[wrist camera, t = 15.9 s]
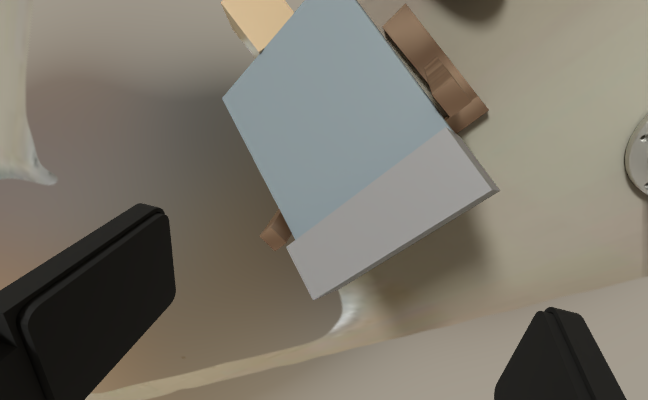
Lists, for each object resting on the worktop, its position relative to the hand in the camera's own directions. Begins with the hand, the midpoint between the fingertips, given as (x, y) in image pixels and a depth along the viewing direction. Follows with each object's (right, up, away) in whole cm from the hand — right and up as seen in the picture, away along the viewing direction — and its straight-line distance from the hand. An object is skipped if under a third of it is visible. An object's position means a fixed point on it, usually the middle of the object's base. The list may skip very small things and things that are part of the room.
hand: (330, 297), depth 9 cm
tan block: (-4, +18, +27) cm, 33 cm away
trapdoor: (+2, +8, +23) cm, 25 cm away
